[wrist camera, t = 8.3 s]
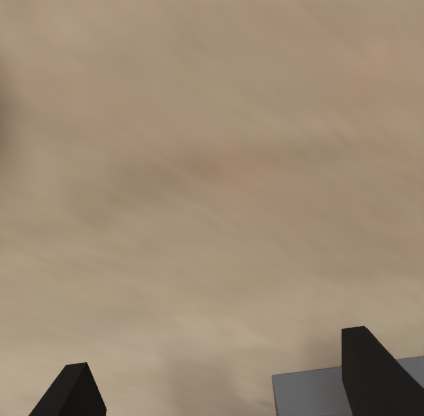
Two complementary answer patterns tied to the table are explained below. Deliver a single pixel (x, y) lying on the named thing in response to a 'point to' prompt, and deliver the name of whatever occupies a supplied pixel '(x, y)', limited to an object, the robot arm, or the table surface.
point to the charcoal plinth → (324, 390)
